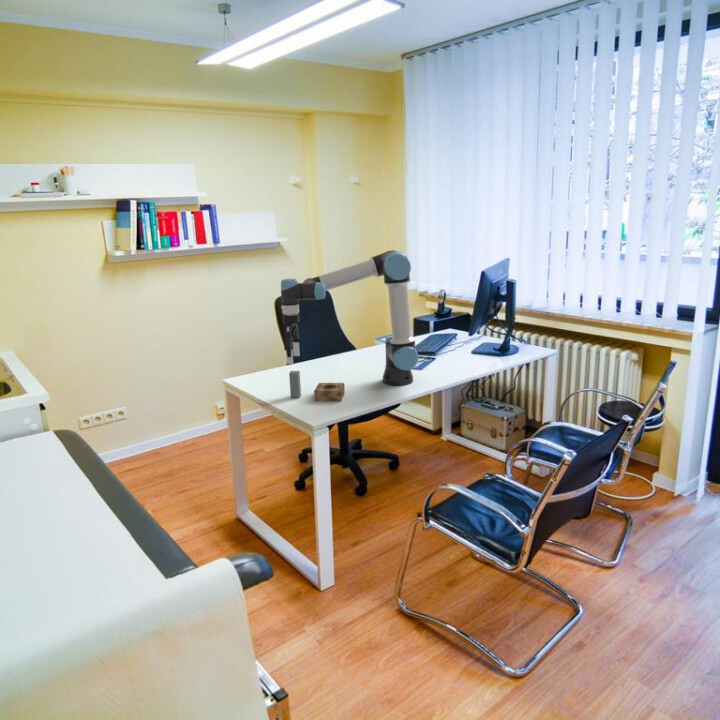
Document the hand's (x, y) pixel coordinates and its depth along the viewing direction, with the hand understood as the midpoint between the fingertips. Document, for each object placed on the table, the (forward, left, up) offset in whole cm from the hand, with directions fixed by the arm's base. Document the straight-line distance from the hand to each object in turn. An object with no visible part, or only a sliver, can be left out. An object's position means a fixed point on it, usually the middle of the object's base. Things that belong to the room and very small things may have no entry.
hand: (293, 359), depth 267 cm
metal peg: (0, 0, -18) cm, 18 cm away
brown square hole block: (-16, 0, -18) cm, 24 cm away
